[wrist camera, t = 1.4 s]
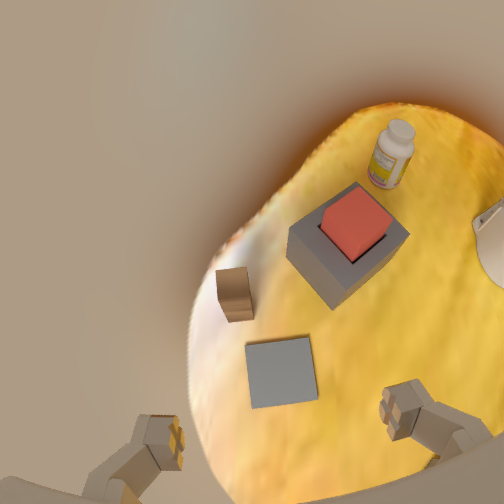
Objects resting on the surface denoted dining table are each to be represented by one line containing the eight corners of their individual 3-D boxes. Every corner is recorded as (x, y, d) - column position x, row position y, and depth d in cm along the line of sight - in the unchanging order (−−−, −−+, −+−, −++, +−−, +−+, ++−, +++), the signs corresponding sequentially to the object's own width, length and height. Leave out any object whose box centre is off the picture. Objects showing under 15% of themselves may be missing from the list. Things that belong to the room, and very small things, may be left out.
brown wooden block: (226, 299, 47) (215, 270, 37) (250, 296, 47) (246, 266, 37) (228, 322, 45) (217, 299, 35) (253, 319, 45) (249, 296, 35)
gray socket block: (344, 214, 52) (356, 181, 44) (389, 260, 48) (410, 234, 40) (285, 256, 49) (289, 227, 41) (332, 310, 45) (346, 290, 37)
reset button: (351, 207, 43) (359, 186, 39) (381, 238, 41) (393, 219, 37) (319, 230, 42) (325, 209, 38) (351, 263, 40) (360, 246, 35)
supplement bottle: (394, 164, 57) (414, 117, 45) (402, 191, 54) (426, 144, 43) (363, 162, 57) (379, 113, 46) (370, 189, 54) (389, 140, 43)
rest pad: (245, 346, 44) (244, 345, 43) (308, 337, 44) (308, 337, 43) (252, 408, 40) (252, 408, 39) (317, 399, 40) (318, 399, 39)
